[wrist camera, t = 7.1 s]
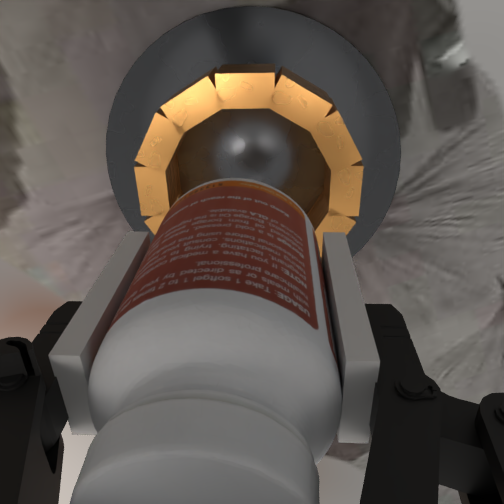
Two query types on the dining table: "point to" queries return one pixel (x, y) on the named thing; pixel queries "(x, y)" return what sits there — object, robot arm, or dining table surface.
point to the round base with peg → (256, 121)
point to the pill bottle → (217, 360)
